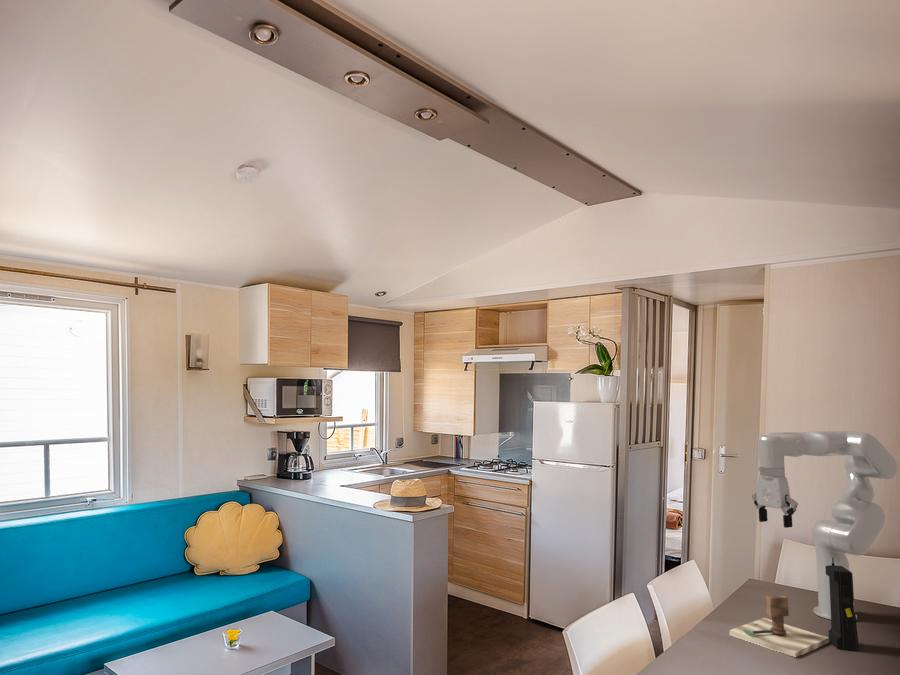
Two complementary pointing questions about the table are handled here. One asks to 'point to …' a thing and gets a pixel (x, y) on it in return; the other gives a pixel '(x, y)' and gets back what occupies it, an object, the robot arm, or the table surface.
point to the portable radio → (842, 608)
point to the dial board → (780, 638)
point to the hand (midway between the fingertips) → (775, 524)
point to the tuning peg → (776, 614)
